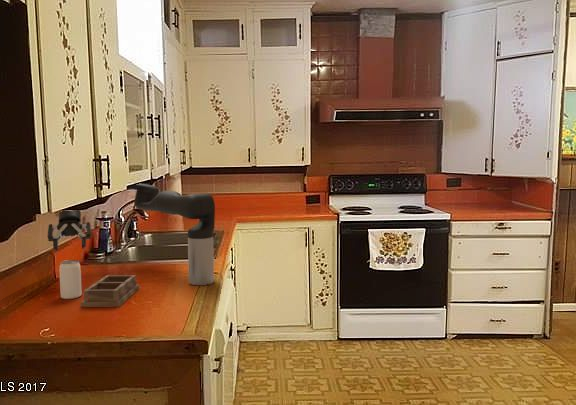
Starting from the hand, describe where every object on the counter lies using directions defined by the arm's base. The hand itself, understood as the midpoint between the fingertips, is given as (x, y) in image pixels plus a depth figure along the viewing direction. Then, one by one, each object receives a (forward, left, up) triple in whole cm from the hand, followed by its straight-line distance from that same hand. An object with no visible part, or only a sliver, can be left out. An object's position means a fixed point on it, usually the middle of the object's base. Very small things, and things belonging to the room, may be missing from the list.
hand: (69, 248), depth 171 cm
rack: (+11, +18, -15) cm, 26 cm away
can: (+10, +4, -15) cm, 18 cm away
